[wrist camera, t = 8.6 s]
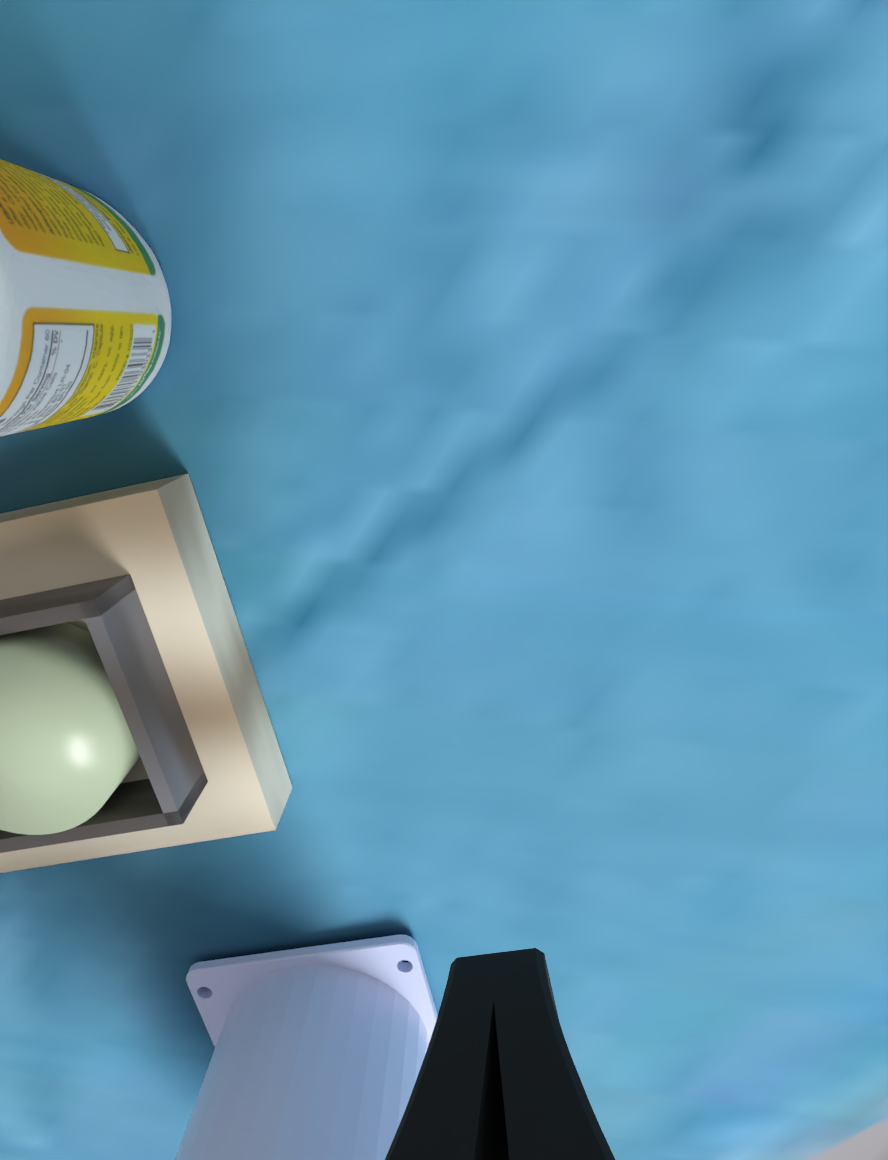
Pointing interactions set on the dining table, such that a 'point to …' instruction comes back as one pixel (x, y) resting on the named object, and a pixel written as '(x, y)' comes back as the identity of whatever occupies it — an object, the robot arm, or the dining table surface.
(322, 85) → the dining table surface
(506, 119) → the dining table surface
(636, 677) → the dining table surface
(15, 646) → the button sage
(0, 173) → the supplement bottle
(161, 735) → the button board
